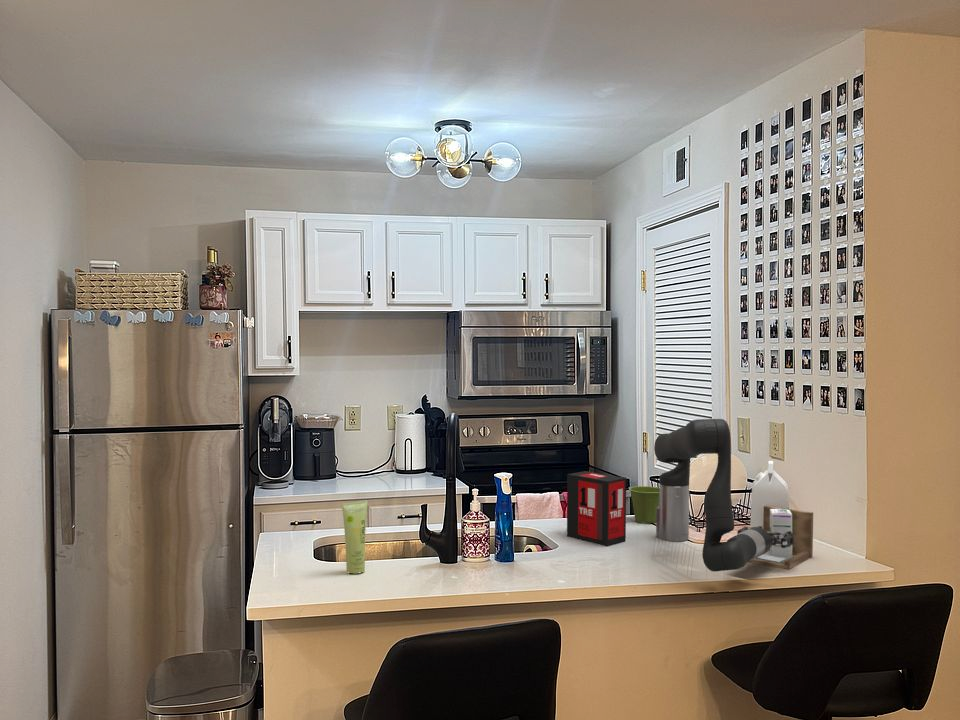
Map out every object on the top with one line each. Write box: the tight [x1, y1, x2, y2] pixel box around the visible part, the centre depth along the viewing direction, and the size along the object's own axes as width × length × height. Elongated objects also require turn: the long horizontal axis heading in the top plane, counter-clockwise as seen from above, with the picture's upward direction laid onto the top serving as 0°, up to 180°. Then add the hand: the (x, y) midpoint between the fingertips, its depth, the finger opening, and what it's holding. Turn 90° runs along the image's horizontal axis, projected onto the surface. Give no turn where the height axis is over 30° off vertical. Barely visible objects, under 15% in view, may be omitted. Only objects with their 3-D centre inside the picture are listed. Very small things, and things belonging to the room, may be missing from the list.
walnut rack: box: [746, 506, 814, 571], centre depth 243 cm, size 14×17×14 cm
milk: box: [749, 460, 790, 529], centre depth 260 cm, size 12×12×26 cm
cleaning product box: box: [566, 470, 627, 547], centre depth 270 cm, size 16×9×20 cm, turn 42°
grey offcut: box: [754, 553, 786, 564], centre depth 241 cm, size 7×4×1 cm, turn 46°
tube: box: [341, 499, 369, 574], centre depth 234 cm, size 6×5×20 cm
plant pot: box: [628, 485, 659, 525], centre depth 293 cm, size 12×12×11 cm
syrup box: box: [769, 509, 793, 560], centre depth 246 cm, size 6×6×14 cm
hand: (775, 532), depth 243 cm, fingers open, 8 cm apart
